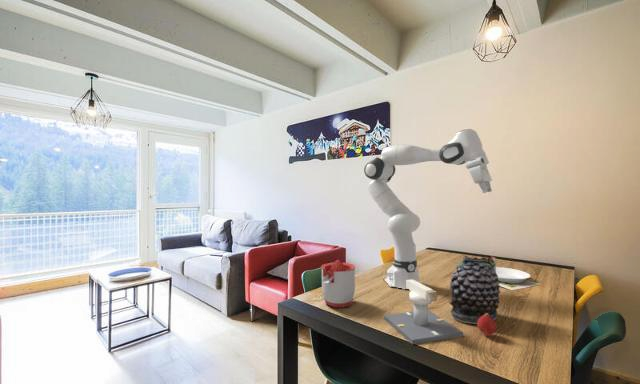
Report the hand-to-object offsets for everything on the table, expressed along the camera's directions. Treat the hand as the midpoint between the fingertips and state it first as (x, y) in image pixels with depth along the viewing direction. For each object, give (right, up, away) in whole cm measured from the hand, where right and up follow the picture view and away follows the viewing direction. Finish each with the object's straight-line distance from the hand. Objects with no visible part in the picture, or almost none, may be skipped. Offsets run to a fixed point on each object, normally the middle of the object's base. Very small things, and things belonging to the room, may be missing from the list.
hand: (487, 192), depth 127 cm
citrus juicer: (-66, -51, +3) cm, 84 cm away
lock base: (-37, -50, -20) cm, 65 cm away
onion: (-16, -50, -27) cm, 59 cm away
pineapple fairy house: (-13, -50, -13) cm, 53 cm away
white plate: (+32, -50, +39) cm, 71 cm away
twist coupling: (-37, -40, -20) cm, 58 cm away
